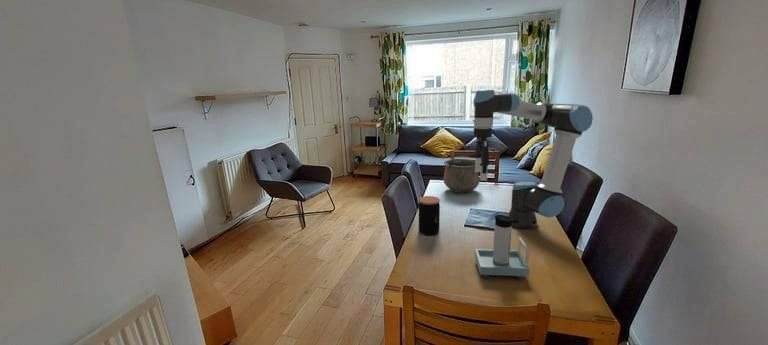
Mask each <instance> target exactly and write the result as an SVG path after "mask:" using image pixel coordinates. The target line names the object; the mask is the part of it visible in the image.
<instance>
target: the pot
mask: <svg viewBox="0 0 768 345" xmlns="http://www.w3.org/2000/svg"><path fill="white" fill-rule="evenodd" d="M443 164H444V174H443V183H444V185H445V186H446V188H448V189H449V190H451V191H452V192H455V193H469V192H472V191H474V190H475V189H476V188H478V186H479V184H480V182H481V181H480V174H479V172H475V160H474V159H472V158H471V159H470V158H452V159H447V160H445V161H444V163H443Z"/></svg>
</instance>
